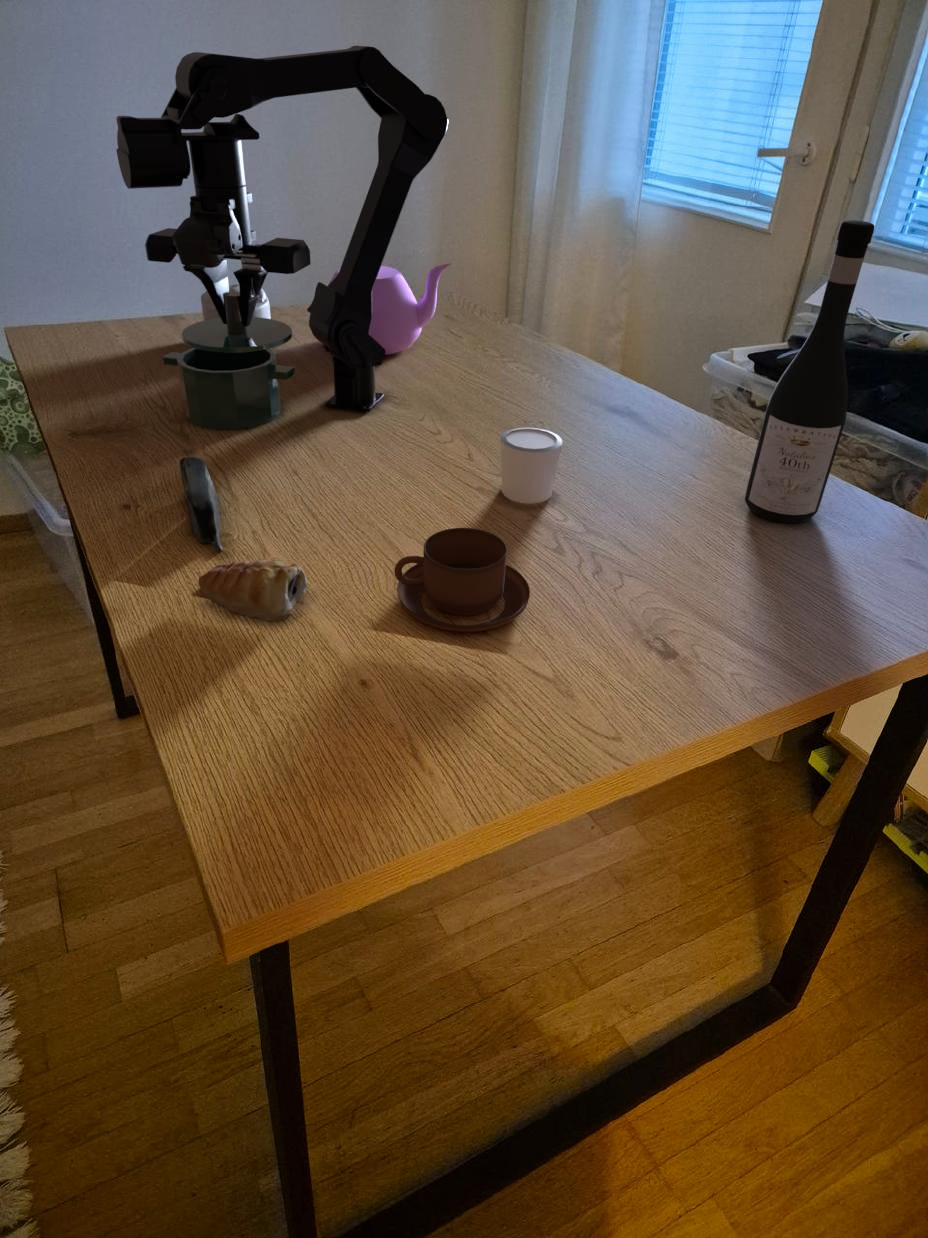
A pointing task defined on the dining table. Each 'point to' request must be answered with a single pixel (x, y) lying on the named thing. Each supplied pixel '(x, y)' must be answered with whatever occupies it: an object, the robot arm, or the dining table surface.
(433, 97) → the robot arm
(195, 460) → the black long curved piece
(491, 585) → the cup and saucer
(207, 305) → the lumpy-topped squat cylinder
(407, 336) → the teapot
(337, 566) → the dining table surface
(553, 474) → the white lidded cup
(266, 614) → the pastry
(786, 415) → the wine bottle
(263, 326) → the lid
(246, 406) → the pot
